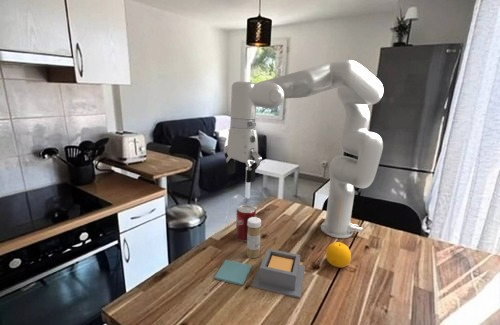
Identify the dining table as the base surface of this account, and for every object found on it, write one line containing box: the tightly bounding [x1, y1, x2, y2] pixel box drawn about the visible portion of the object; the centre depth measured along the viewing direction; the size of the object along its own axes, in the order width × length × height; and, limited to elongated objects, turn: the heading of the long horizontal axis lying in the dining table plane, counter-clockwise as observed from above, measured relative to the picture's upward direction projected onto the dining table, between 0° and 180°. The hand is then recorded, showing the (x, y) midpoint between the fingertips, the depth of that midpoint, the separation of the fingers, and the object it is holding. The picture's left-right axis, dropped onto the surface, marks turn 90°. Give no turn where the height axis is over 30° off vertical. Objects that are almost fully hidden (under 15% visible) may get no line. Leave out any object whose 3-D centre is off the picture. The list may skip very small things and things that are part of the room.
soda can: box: [235, 204, 257, 243], centre depth 102 cm, size 7×7×12 cm
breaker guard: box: [251, 248, 306, 299], centre depth 81 cm, size 14×14×6 cm
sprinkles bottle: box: [246, 216, 262, 259], centre depth 91 cm, size 5×5×13 cm
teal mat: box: [214, 259, 253, 286], centre depth 83 cm, size 9×9×1 cm
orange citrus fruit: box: [325, 241, 352, 268], centre depth 88 cm, size 8×8×8 cm
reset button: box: [268, 255, 294, 272], centre depth 81 cm, size 7×7×2 cm
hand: (240, 177), depth 85 cm, fingers open, 9 cm apart
